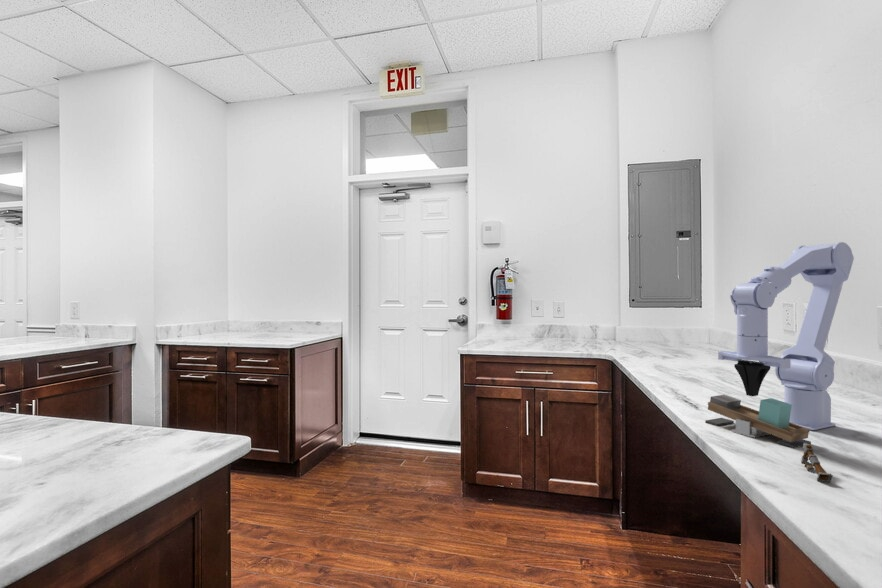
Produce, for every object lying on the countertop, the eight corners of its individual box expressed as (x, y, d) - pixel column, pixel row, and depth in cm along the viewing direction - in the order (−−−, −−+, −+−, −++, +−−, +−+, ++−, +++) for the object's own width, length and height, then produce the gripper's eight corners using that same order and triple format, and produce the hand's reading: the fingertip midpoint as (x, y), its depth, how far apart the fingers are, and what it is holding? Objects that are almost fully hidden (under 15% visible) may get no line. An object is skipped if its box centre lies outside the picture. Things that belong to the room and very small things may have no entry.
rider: (768, 419, 99) (771, 398, 98) (788, 426, 95) (791, 404, 95) (757, 421, 97) (760, 399, 97) (777, 429, 94) (780, 406, 93)
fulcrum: (724, 419, 110) (724, 406, 110) (813, 443, 93) (813, 428, 93) (702, 423, 107) (702, 409, 107) (790, 448, 90) (790, 433, 89)
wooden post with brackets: (806, 459, 82) (811, 440, 80) (827, 494, 75) (833, 474, 73) (795, 458, 82) (799, 439, 81) (814, 492, 75) (819, 472, 74)
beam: (724, 409, 109) (726, 394, 109) (807, 441, 93) (810, 423, 93) (706, 412, 107) (708, 396, 106) (789, 445, 90) (792, 427, 90)
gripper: (709, 333, 105) (709, 390, 105) (776, 339, 92) (776, 404, 92) (729, 332, 108) (729, 387, 108) (796, 338, 95) (796, 401, 95)
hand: (752, 395), depth 100 cm, fingers closed
